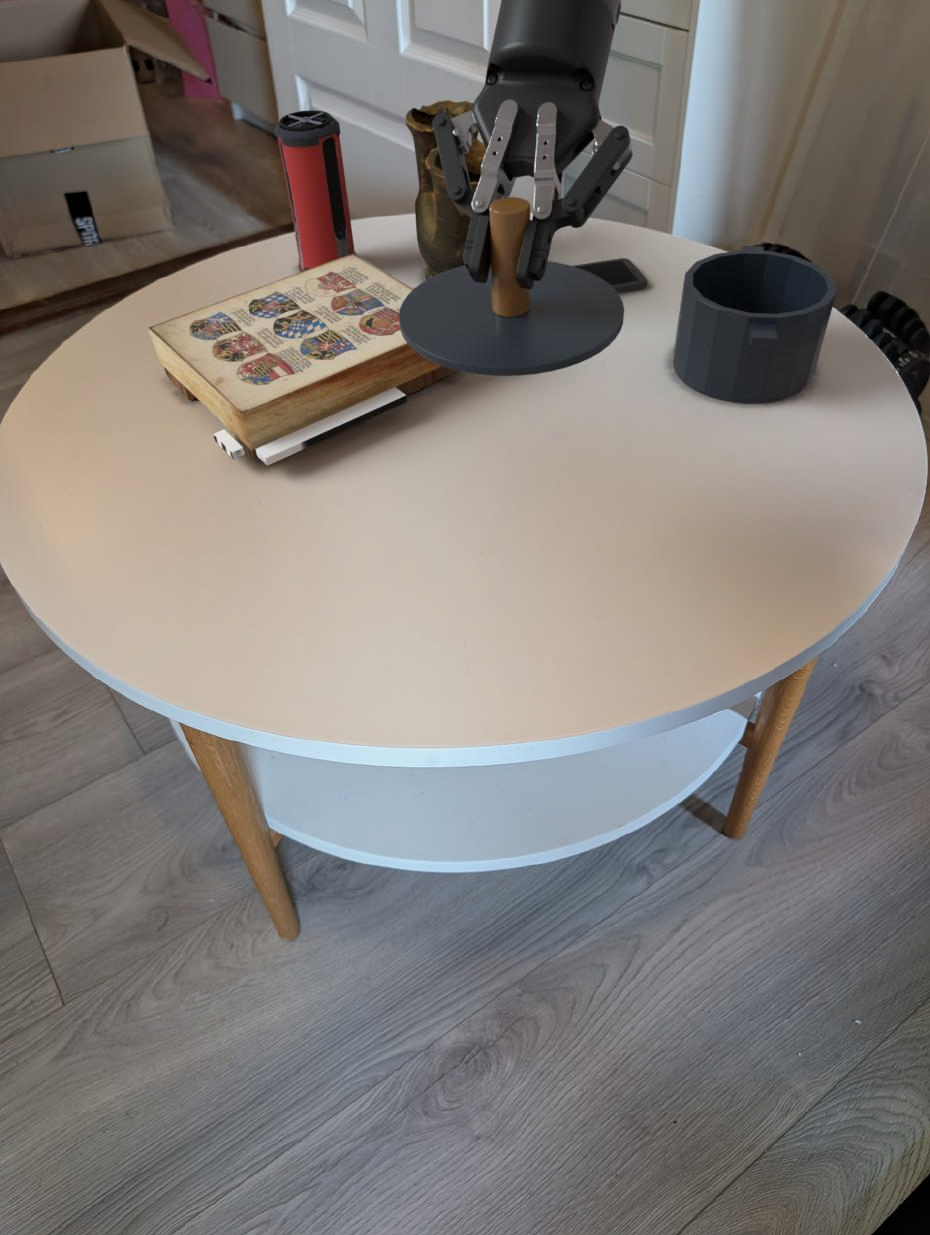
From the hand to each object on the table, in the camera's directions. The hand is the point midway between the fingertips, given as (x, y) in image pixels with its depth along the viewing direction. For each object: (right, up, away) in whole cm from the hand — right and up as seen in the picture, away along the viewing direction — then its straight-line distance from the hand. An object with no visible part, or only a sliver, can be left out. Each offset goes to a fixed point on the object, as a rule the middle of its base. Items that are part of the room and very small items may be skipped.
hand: (500, 280), depth 57 cm
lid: (+1, -1, +4) cm, 4 cm away
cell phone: (+13, +20, +52) cm, 57 cm away
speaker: (-20, +24, +59) cm, 66 cm away
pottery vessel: (-3, +22, +55) cm, 59 cm away
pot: (+28, +5, +38) cm, 47 cm away
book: (-19, +3, +39) cm, 43 cm away
